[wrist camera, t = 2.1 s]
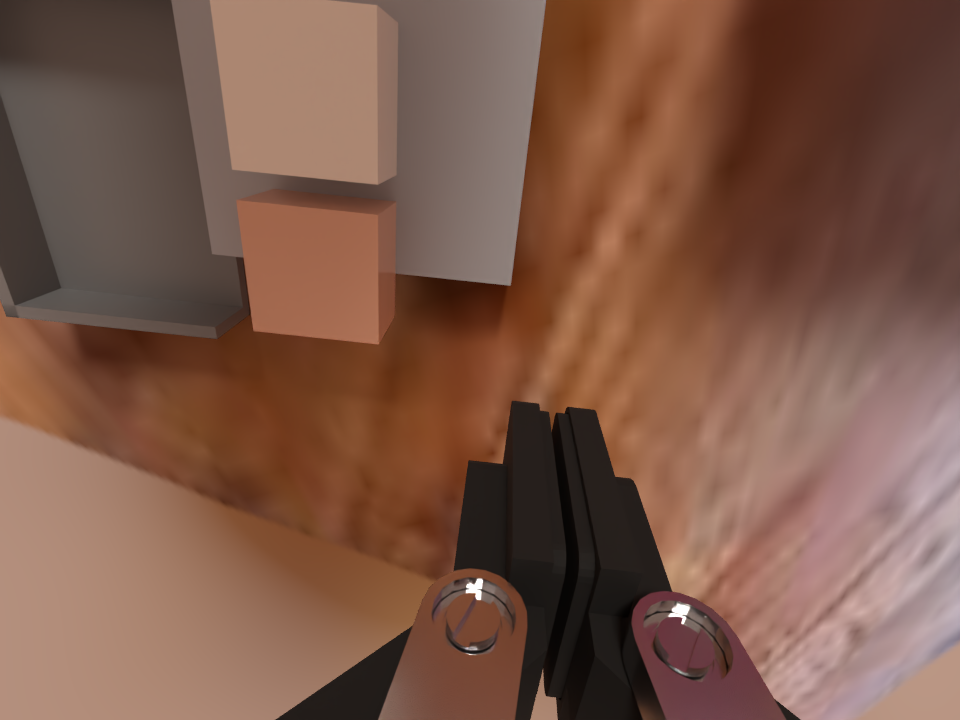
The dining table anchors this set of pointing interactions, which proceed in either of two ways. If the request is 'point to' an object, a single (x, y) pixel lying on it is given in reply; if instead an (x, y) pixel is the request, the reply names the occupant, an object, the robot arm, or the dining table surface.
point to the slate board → (407, 134)
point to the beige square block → (309, 87)
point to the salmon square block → (319, 264)
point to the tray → (104, 174)
